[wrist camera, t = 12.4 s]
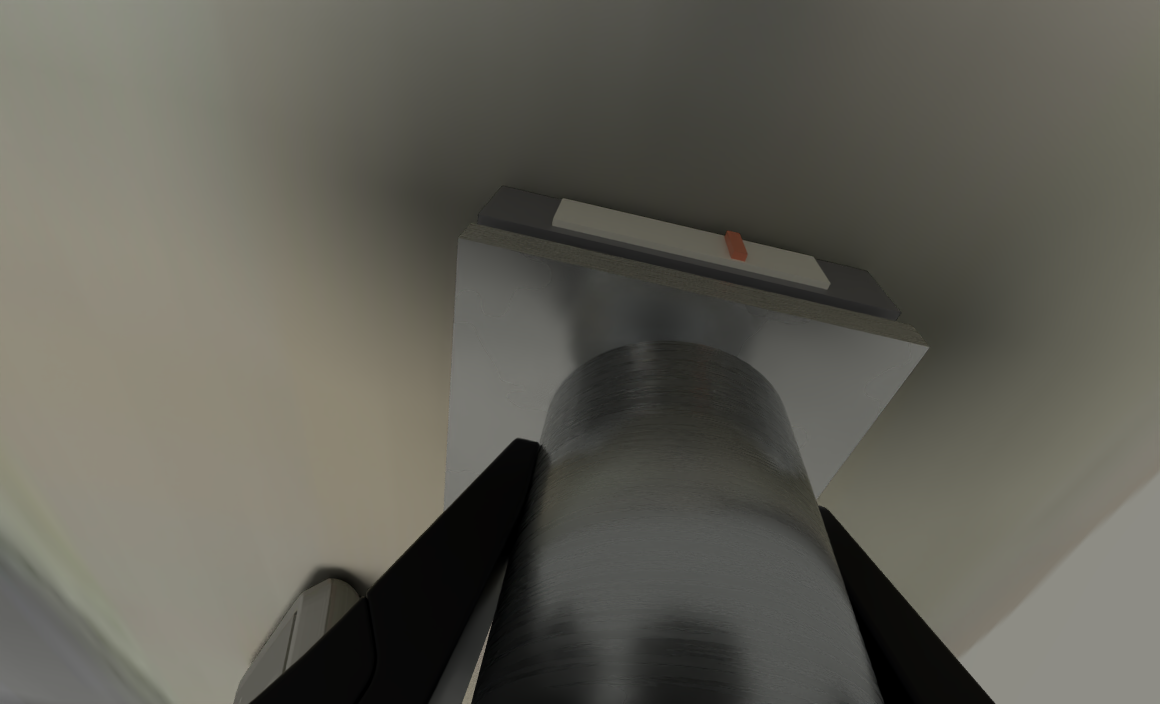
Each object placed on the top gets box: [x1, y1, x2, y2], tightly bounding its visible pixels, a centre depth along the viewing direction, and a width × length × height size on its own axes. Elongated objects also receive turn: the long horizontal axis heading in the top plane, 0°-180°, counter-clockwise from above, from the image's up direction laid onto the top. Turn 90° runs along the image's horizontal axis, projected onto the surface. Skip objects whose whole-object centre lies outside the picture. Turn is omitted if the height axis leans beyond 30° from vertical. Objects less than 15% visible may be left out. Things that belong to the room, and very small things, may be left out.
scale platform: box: [444, 223, 930, 511], centre depth 12 cm, size 10×9×1 cm
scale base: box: [478, 186, 901, 321], centre depth 14 cm, size 10×9×2 cm
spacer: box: [471, 340, 884, 704], centre depth 7 cm, size 4×4×5 cm
